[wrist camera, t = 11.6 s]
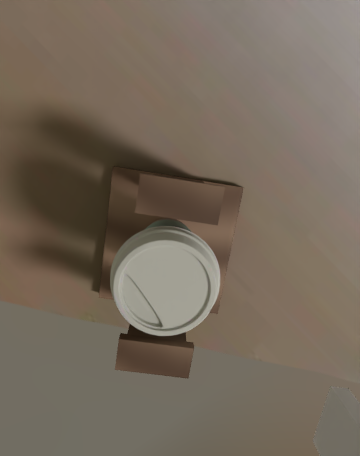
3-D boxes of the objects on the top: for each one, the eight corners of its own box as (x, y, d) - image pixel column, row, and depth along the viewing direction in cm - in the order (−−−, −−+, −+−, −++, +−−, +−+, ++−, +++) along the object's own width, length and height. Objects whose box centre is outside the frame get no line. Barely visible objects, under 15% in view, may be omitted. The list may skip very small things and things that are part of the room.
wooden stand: (115, 162, 32) (81, 164, 20) (242, 183, 32) (280, 195, 21) (100, 296, 35) (65, 363, 24) (215, 312, 36) (235, 384, 24)
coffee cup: (128, 205, 32) (102, 231, 20) (207, 206, 32) (227, 232, 20) (130, 279, 34) (107, 343, 22) (204, 279, 34) (221, 343, 22)
